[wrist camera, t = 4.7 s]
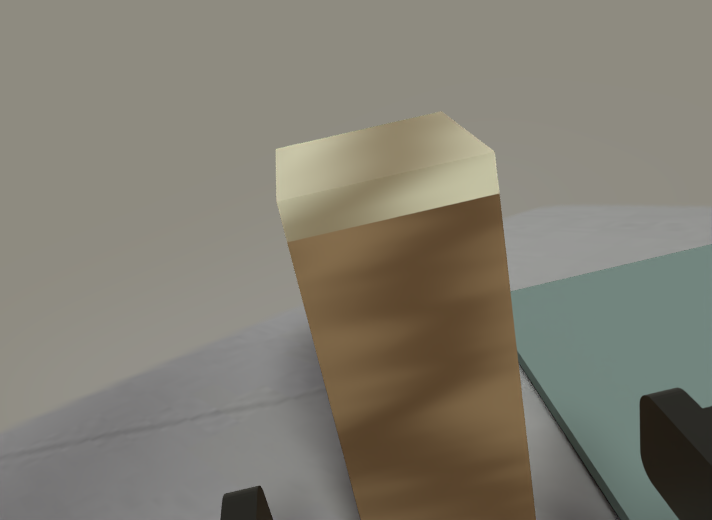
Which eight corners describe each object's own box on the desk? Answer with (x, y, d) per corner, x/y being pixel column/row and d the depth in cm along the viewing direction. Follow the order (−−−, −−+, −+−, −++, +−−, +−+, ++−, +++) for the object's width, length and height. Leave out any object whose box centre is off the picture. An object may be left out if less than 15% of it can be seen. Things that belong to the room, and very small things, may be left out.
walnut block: (375, 576, 19) (276, 201, 14) (356, 462, 24) (276, 148, 19) (537, 535, 19) (494, 151, 14) (487, 430, 24) (441, 111, 19)
